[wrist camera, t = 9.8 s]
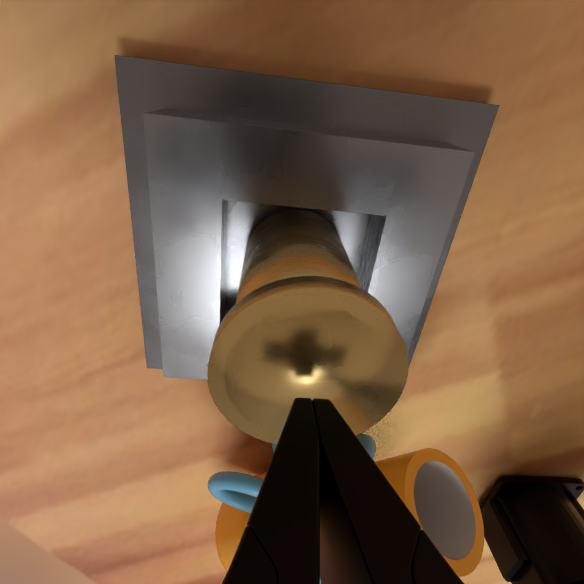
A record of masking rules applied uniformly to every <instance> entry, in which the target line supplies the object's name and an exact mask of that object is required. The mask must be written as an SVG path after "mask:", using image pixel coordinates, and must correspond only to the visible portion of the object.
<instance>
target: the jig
mask: <svg viewBox="0 0 584 584" xmlns="http://www.w3.org/2000/svg"><path fill="white" fill-rule="evenodd" d="M115 65H116V74H117V84H118V93H119V103H120V113H121V122H122V132H123V142H124V151H125V161H126V170H127V180H128V190H129V199H130V209H131V219H132V228H133V238H134V248H135V257H136V267H137V276H138V286H139V296H140V305H141V315H142V325H143V334H144V344H145V354H146V363H147V368H155V369H163V377H170V378H188V379H206V380H208V377H207V371H208V362H209V358H210V354H211V350H212V346H213V342H214V338H215V334H216V332H217V329H218V327H219V325H220V323H221V322H222V320H223V318H224V317H225V315H226V314H227V313H228V312H229V310H230V309H231V308H232V307H233V306H234V305H235V304H236V299H237V294H238V289H239V283H240V278H241V272H242V267H243V262H244V256H245V251H246V246H247V242H248V240H249V238H250V236H251V234H252V232H253V231H254V229H255V228H256V227H257V226H258V225H259V224H260V223H261V222H262V221H263V220H265V219H266V218H267V217H269V216H271V215H273V214H275V213H278V212H281V211H285V210H305V211H309V212H312V213H315V214H317V215H319V216H321V217H323V218H324V219H325V220H327V221H328V222H329V223H330V224H331V225H332V226H333V227H334V229H335V230H336V231H337V233H338V235H339V237H340V239H341V242H342V244H343V246H344V248H345V251H346V253H347V255H348V257H349V260H350V262H351V264H352V266H353V269H354V271H355V273H356V275H357V278H358V280H359V282H360V284H361V287H362V289H363V290H365V291H367V292H368V293H370V294H371V295H372V296H373V297H375V298H376V299H377V300H378V301H379V302H380V303H381V304H382V305H383V306H384V307H385V308H386V310H387V311H388V313H389V314H390V316H391V317H392V319H393V321H394V323H395V325H396V327H397V329H398V331H399V333H400V335H401V337H402V339H403V341H404V343H405V346H406V350H407V353H408V363H409V365H410V362H411V359H412V356H413V353H414V351H415V348H416V345H417V342H418V339H419V336H420V333H421V330H422V327H423V325H424V322H425V319H426V316H427V313H428V310H429V307H430V304H431V301H432V299H433V296H434V293H435V290H436V287H437V284H438V281H439V278H440V275H441V272H442V270H443V267H444V264H445V261H446V258H447V255H448V252H449V249H450V246H451V244H452V241H453V238H454V235H455V232H456V229H457V226H458V223H459V220H460V218H461V215H462V212H463V209H464V206H465V203H466V200H467V197H468V194H469V192H470V189H471V186H472V183H473V180H474V177H475V174H476V171H477V168H478V165H479V163H480V160H481V157H482V154H483V151H484V148H485V145H486V142H487V139H488V137H489V134H490V131H491V128H492V125H493V122H494V119H495V116H496V113H497V111H498V108H499V105H493V104H486V103H478V102H470V101H463V100H455V99H447V98H440V97H432V96H424V95H417V94H409V93H401V92H394V91H386V90H378V89H371V88H363V87H355V86H348V85H340V84H332V83H325V82H317V81H309V80H302V79H294V78H286V77H279V76H271V75H263V74H256V73H248V72H240V71H233V70H225V69H217V68H210V67H202V66H195V65H187V64H179V63H172V62H164V61H156V60H149V59H141V58H133V57H126V56H118V55H115ZM409 365H408V368H409Z"/></svg>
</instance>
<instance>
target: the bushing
mask: <svg viewBox="0 0 584 584" xmlns="http://www.w3.org/2000/svg"><path fill="white" fill-rule="evenodd" d="M408 365H409V363H408V353H407V350H406V346H405V343H404V341H403V339H402V337H401V335H400V333H399V331H398V329H397V327H396V325H395V323H394V321H393V319H392V317H391V316H390V314H389V313H388V311H387V310H386V308H385V307H384V306H383V305H382V304H381V303H380V302H379V301H378V300H377V299H376V298H375V297H373V296H372V295H371V294H370V293H368V292H367V291H365V290H363V289H362V287H361V284H360V282H359V280H358V278H357V275H356V273H355V271H354V269H353V266H352V264H351V262H350V260H349V257H348V255H347V253H346V251H345V248H344V246H343V244H342V242H341V239H340V237H339V235H338V233H337V231H336V230H335V229H334V227H333V226H332V225H331V224H330V223H329V222H328V221H327V220H325V219H324V218H323V217H321V216H319V215H317V214H315V213H312V212H309V211H305V210H285V211H281V212H278V213H275V214H273V215H271V216H269V217H267V218H266V219H265V220H263V221H262V222H261V223H260V224H259V225H258V226H257V227H256V228H255V229H254V231H253V232H252V234H251V236H250V238H249V240H248V242H247V246H246V251H245V256H244V262H243V267H242V272H241V278H240V283H239V289H238V294H237V299H236V304H235V305H234V306H233V307H232V308H231V309H230V310H229V312H228V313H227V314H226V315H225V317H224V318H223V320H222V322H221V323H220V325H219V327H218V329H217V332H216V334H215V338H214V342H213V346H212V350H211V354H210V358H209V362H208V371H207V377H208V386H209V389H210V393H211V396H212V398H213V400H214V402H215V404H216V406H217V407H218V409H219V410H220V412H221V413H222V414H223V415H224V416H225V417H226V418H227V420H229V421H230V422H231V423H232V424H233V425H234V426H236V427H237V428H239V429H240V430H242V431H243V432H245V433H247V434H249V435H251V436H252V437H255V438H257V439H260V440H262V441H265V442H269V443H272V444H277V443H278V441H279V438H280V435H281V433H282V430H283V427H284V425H285V422H286V420H287V417H288V414H289V412H290V409H291V406H292V404H293V401H294V399H295V398H296V397H301V398H311V399H312V400H313V399H314V398H320V399H329V400H330V401H331V402H332V403H333V405H334V406H335V407H336V409H337V410H338V412H339V413H340V414H341V416H342V417H343V419H344V420H345V421H346V423H347V424H348V426H349V427H350V428H351V430H352V431H353V432H354V434H355V435H358V434H360V433H362V432H364V431H365V430H367V429H369V428H370V427H372V426H373V425H375V424H376V423H377V422H378V421H380V420H381V419H382V418H383V417H384V416H385V415H386V414H387V413H388V412H389V411H390V410H391V409H392V408H393V406H394V405H395V404H396V402H397V401H398V399H399V397H400V396H401V394H402V391H403V389H404V387H405V384H406V380H407V376H408Z"/></svg>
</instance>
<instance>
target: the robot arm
mask: <svg viewBox="0 0 584 584" xmlns="http://www.w3.org/2000/svg"><path fill="white" fill-rule="evenodd" d="M583 491H584V482H583V481H582V480H581V479H572V478H544V477H515V476H505V477H502V478H500V479H499V480H498V482H497V483H496V485H495V486H494V488H493V490H492V491H491V493H490V494H489V496H488V498H487V499H486V501H485V502H484V504H483V506H482V507H481V509H480V510H481V514H482V519H483V527H484V537H485V539H486V541H487V543H488V546H489V548H490V550H491V552H492V554H493V556H494V559H495V561H496V563H497V565H498V567H499V569H500V572H501V574H502V576H503V578H504V579H505V580H506V581H507V582H511V583H512V584H584V509H583V508H582V507H581V505H580V504H579V503H578V501H577V500H576V499H577V498H578V497H579V495H580V494H581V493H582V492H583ZM320 580H321V584H464V583H463V582H462V581H461V579H460V578H459V577H458V576H457V574H456V573H455V572H454V570H453V569H452V568H451V566H450V565H449V564H448V562H447V561H446V560H445V558H444V557H443V556H442V554H441V553H440V552H439V550H438V549H437V548H436V546H435V545H434V544H433V542H432V541H431V539H430V538H429V537H428V535H427V534H426V532H425V531H424V530H421V526H420V524H419V523H418V521H417V520H416V519H415V517H414V516H413V515H412V513H411V512H410V510H409V509H408V508H407V506H406V505H405V503H404V502H403V501H402V499H401V498H400V496H399V495H398V494H397V492H396V491H395V490H394V488H393V487H392V485H391V484H390V483H389V481H388V480H387V478H386V477H385V476H384V474H383V473H382V471H381V470H380V469H379V467H378V466H377V464H376V463H375V462H374V460H373V459H372V458H371V456H370V455H369V453H368V452H367V451H366V449H365V448H364V446H363V445H362V444H361V442H360V441H359V439H358V438H357V437H356V435H355V434H354V432H353V431H352V430H351V428H350V427H349V426H348V424H347V423H346V421H345V420H344V419H343V417H342V416H341V414H340V413H339V412H338V410H337V409H336V407H335V406H334V405H333V403H332V402H331V401H330V400H329V399H320V398H314V399H313V400H312V399H311V398H301V397H296V398H295V399H294V401H293V404H292V406H291V409H290V412H289V414H288V417H287V420H286V422H285V425H284V427H283V430H282V433H281V435H280V438H279V441H278V443H277V446H276V448H275V451H274V454H273V456H272V459H271V462H270V464H269V467H268V469H267V472H266V475H265V477H264V480H263V483H262V485H261V488H260V490H259V493H258V496H257V498H256V501H255V504H254V506H253V509H252V511H251V514H250V517H249V519H248V522H247V526H246V527H245V529H244V532H243V534H242V537H241V540H240V542H239V545H238V548H237V550H236V552H235V555H234V557H233V560H232V562H231V564H230V567H229V569H228V571H227V574H226V576H225V578H224V580H223V582H222V584H320Z"/></svg>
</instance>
